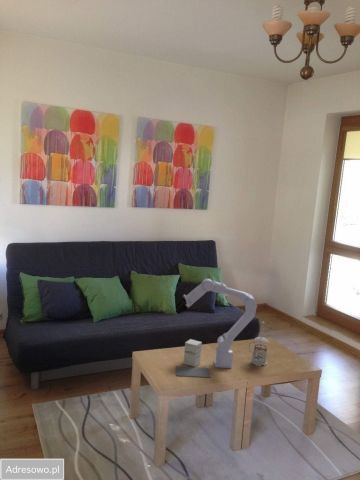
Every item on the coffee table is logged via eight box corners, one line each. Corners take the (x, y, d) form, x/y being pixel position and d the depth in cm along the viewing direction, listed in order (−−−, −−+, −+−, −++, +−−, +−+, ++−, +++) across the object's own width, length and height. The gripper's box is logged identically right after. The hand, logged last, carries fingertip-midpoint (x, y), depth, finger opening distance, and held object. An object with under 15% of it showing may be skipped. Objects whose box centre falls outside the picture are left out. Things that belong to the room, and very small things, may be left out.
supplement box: (183, 364, 236) (184, 342, 234) (188, 359, 242) (190, 338, 241) (194, 367, 232) (196, 345, 231) (200, 363, 239) (202, 341, 237)
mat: (208, 368, 233) (208, 367, 233) (210, 377, 222) (210, 377, 222) (176, 366, 232) (176, 365, 232) (176, 376, 222) (176, 375, 222)
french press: (266, 367, 239) (270, 325, 236) (246, 363, 243) (250, 322, 239) (268, 360, 249) (272, 320, 245) (249, 356, 252) (253, 317, 248)
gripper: (189, 285, 239) (171, 300, 241) (191, 293, 225) (171, 309, 227) (197, 294, 240) (179, 309, 242) (199, 303, 226) (180, 318, 228)
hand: (176, 310), depth 234 cm, fingers open, 7 cm apart
